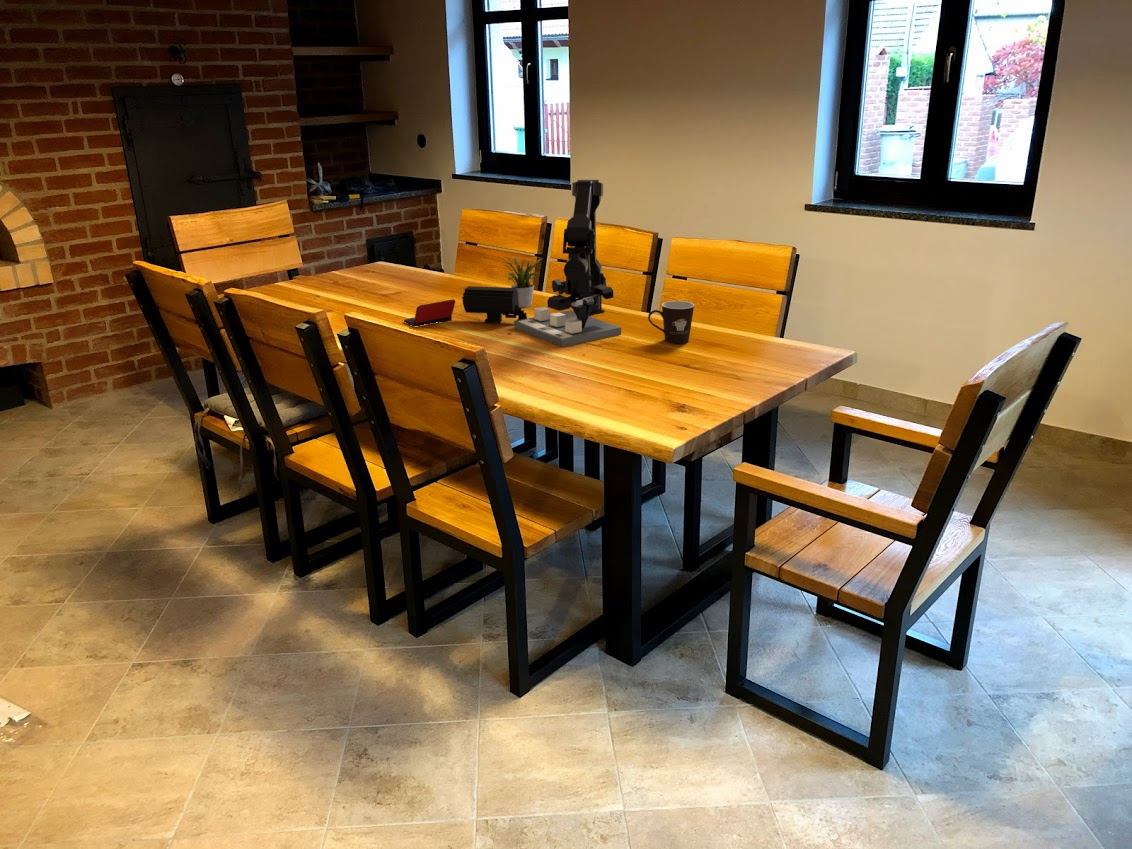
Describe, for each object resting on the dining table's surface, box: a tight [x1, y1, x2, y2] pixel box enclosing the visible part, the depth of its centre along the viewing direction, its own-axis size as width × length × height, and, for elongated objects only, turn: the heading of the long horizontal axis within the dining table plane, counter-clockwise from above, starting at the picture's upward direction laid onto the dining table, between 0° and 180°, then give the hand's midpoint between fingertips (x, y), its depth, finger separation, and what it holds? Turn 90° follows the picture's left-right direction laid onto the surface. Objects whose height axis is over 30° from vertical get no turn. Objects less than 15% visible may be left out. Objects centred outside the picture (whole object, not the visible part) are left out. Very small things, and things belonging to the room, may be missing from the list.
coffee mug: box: [647, 300, 695, 345], centre depth 244 cm, size 12×9×10 cm
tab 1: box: [533, 306, 551, 321], centre depth 259 cm, size 3×3×3 cm
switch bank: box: [513, 309, 622, 348], centre depth 256 cm, size 20×24×2 cm
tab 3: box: [565, 319, 582, 334], centre depth 247 cm, size 3×3×3 cm
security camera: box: [461, 285, 528, 324], centre depth 264 cm, size 7×18×10 cm, turn 79°
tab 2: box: [550, 311, 566, 327], centre depth 253 cm, size 3×3×3 cm
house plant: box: [501, 253, 544, 309], centre depth 281 cm, size 14×14×16 cm
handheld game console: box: [403, 298, 456, 327], centre depth 265 cm, size 12×11×7 cm
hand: (582, 327), depth 249 cm, fingers closed
